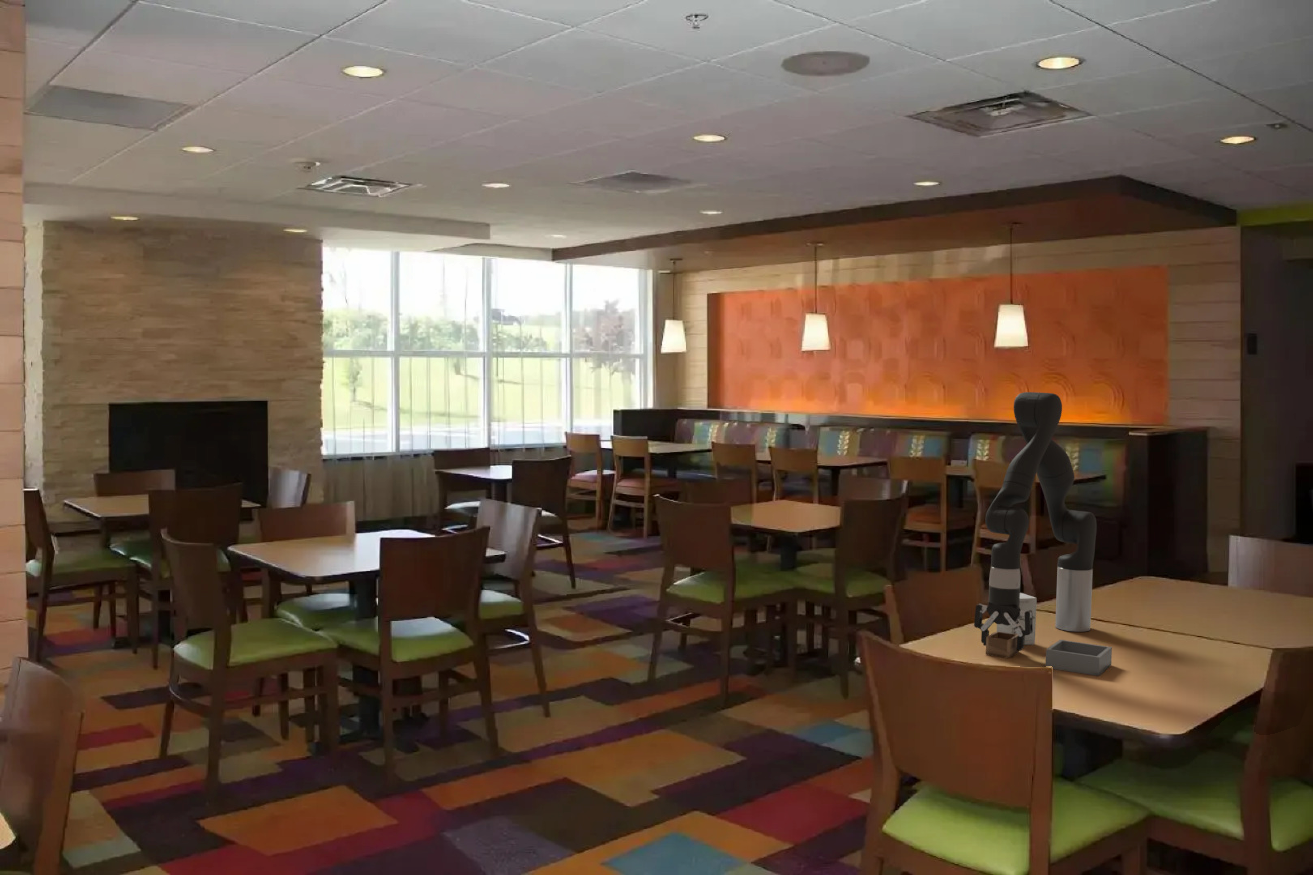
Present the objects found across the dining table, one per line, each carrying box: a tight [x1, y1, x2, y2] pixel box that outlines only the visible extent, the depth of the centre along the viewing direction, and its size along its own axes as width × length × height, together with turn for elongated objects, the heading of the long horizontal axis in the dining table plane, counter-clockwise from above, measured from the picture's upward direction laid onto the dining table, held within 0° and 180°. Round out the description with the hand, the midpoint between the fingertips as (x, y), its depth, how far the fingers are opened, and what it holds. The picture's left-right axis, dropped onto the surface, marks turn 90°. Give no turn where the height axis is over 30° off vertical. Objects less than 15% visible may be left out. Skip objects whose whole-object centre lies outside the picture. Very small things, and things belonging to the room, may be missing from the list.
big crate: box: [1044, 639, 1113, 677], centre depth 272 cm, size 12×12×4 cm
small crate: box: [985, 630, 1020, 659], centre depth 284 cm, size 8×6×4 cm
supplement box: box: [996, 592, 1038, 646], centre depth 296 cm, size 7×7×13 cm
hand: (1002, 647), depth 284 cm, fingers open, 8 cm apart
